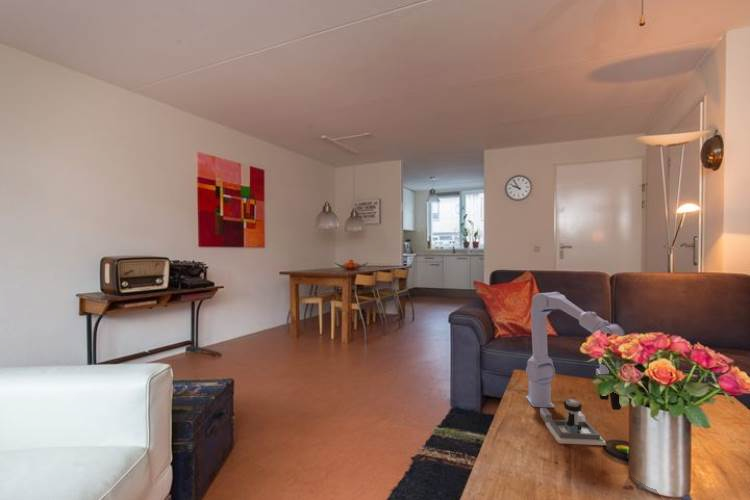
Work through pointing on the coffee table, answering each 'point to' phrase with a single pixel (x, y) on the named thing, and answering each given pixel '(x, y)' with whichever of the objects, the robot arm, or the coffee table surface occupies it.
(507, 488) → the coffee table surface
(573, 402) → the push button
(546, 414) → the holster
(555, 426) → the port dock
